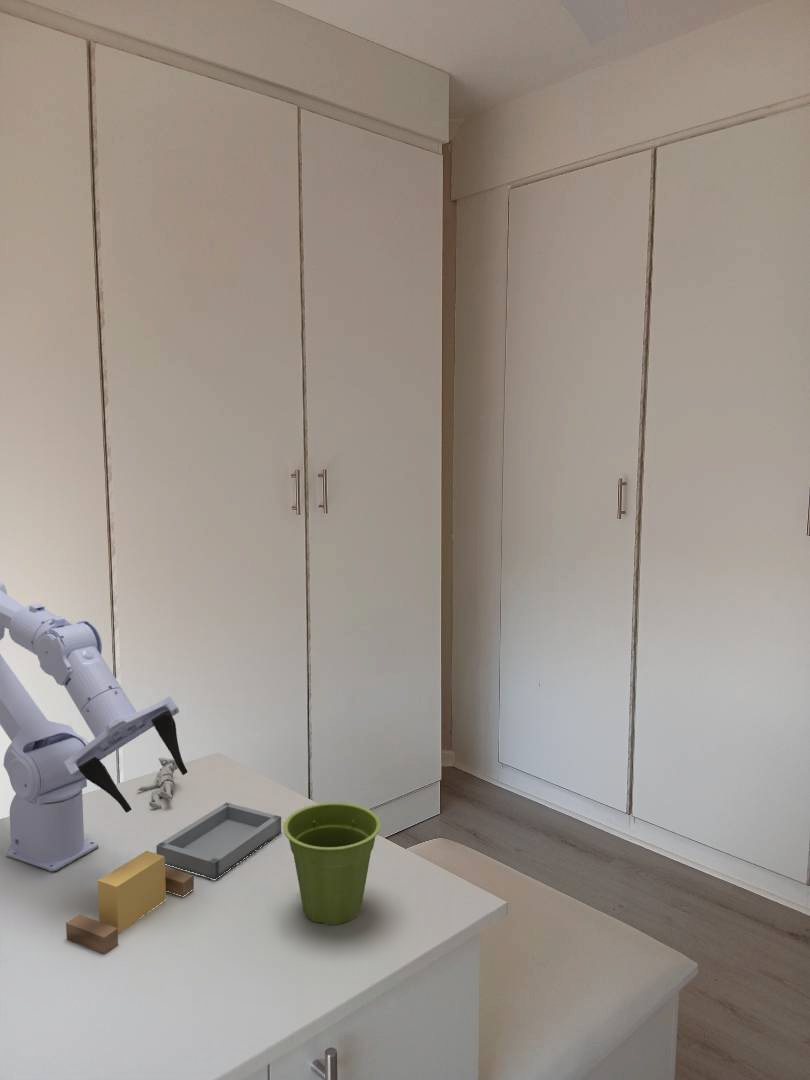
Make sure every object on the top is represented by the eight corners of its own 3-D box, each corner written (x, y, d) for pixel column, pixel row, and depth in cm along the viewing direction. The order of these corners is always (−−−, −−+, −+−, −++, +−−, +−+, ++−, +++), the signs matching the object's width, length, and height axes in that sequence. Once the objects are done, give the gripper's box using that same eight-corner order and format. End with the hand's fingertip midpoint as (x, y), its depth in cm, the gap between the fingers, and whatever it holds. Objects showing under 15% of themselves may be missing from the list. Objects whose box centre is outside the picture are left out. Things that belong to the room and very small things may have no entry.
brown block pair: (66, 939, 98) (66, 923, 98) (158, 878, 111) (157, 864, 111) (104, 953, 95) (104, 937, 95) (193, 890, 109) (193, 875, 108)
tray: (156, 862, 115) (156, 845, 115) (226, 818, 129) (226, 802, 128) (215, 880, 111) (214, 863, 111) (281, 832, 124) (281, 816, 124)
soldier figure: (134, 817, 131) (132, 766, 141) (158, 830, 133) (154, 779, 144) (170, 784, 130) (166, 735, 140) (193, 798, 133) (187, 749, 143)
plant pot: (263, 914, 104) (262, 827, 102) (329, 874, 113) (329, 794, 111) (335, 951, 97) (336, 858, 95) (399, 905, 106) (400, 820, 104)
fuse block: (99, 927, 101) (97, 880, 100) (147, 895, 108) (146, 850, 107) (118, 934, 99) (116, 886, 98) (165, 901, 106) (164, 856, 105)
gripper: (39, 725, 102) (94, 820, 97) (148, 660, 107) (205, 747, 103) (54, 742, 108) (106, 831, 103) (157, 679, 113) (210, 761, 109)
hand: (156, 790), depth 103 cm, fingers open, 7 cm apart
